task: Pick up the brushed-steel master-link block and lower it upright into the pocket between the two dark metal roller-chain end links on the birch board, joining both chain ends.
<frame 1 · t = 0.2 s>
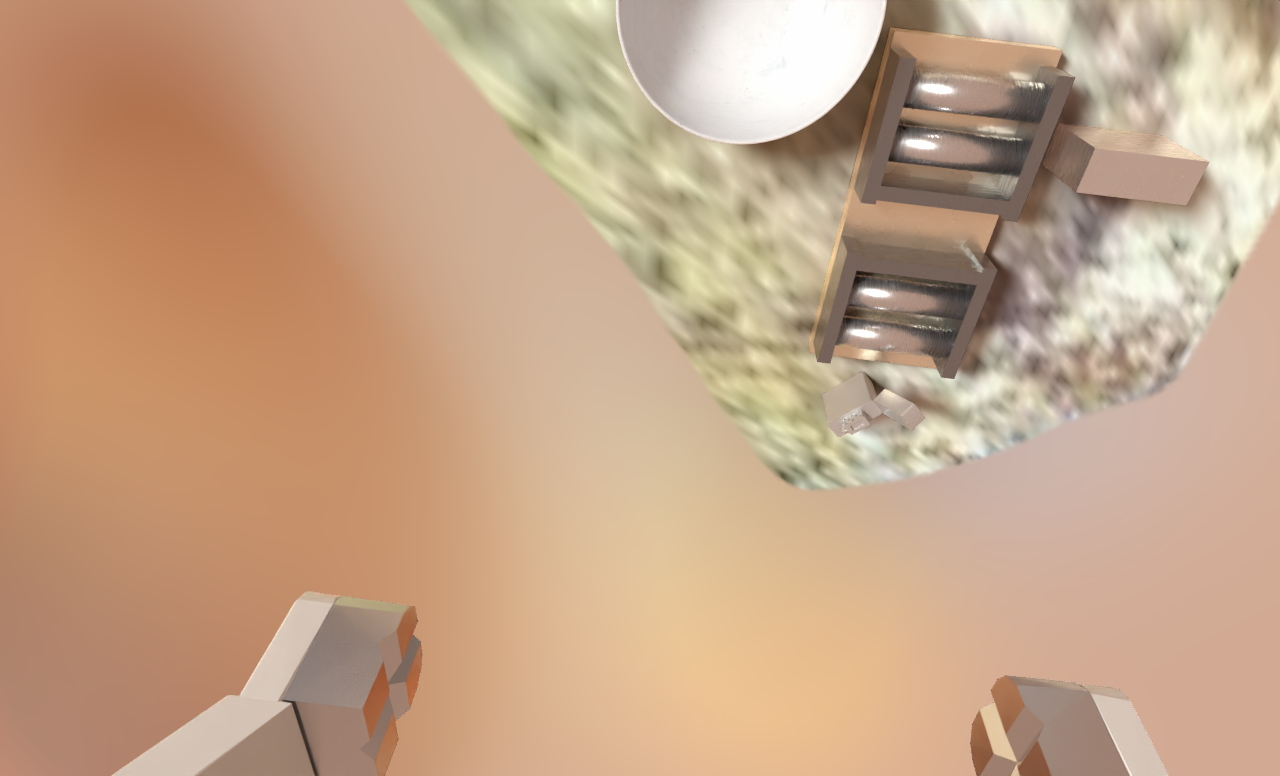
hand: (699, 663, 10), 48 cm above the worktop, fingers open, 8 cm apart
lighter: (861, 379, 63), on the worktop
chain ends: (915, 213, 55), on the worktop
master link: (1100, 149, 51), on the worktop
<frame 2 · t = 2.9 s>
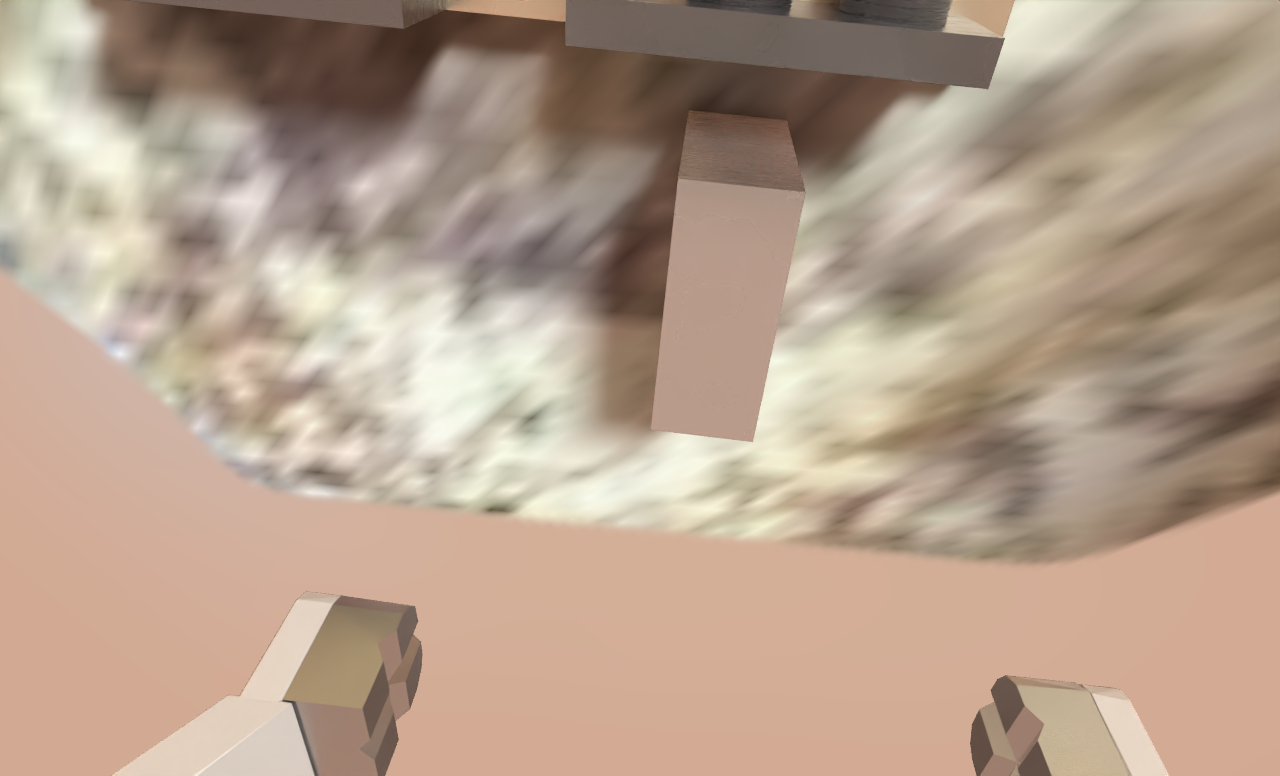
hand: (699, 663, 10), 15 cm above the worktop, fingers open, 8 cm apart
master link: (720, 230, 23), on the worktop
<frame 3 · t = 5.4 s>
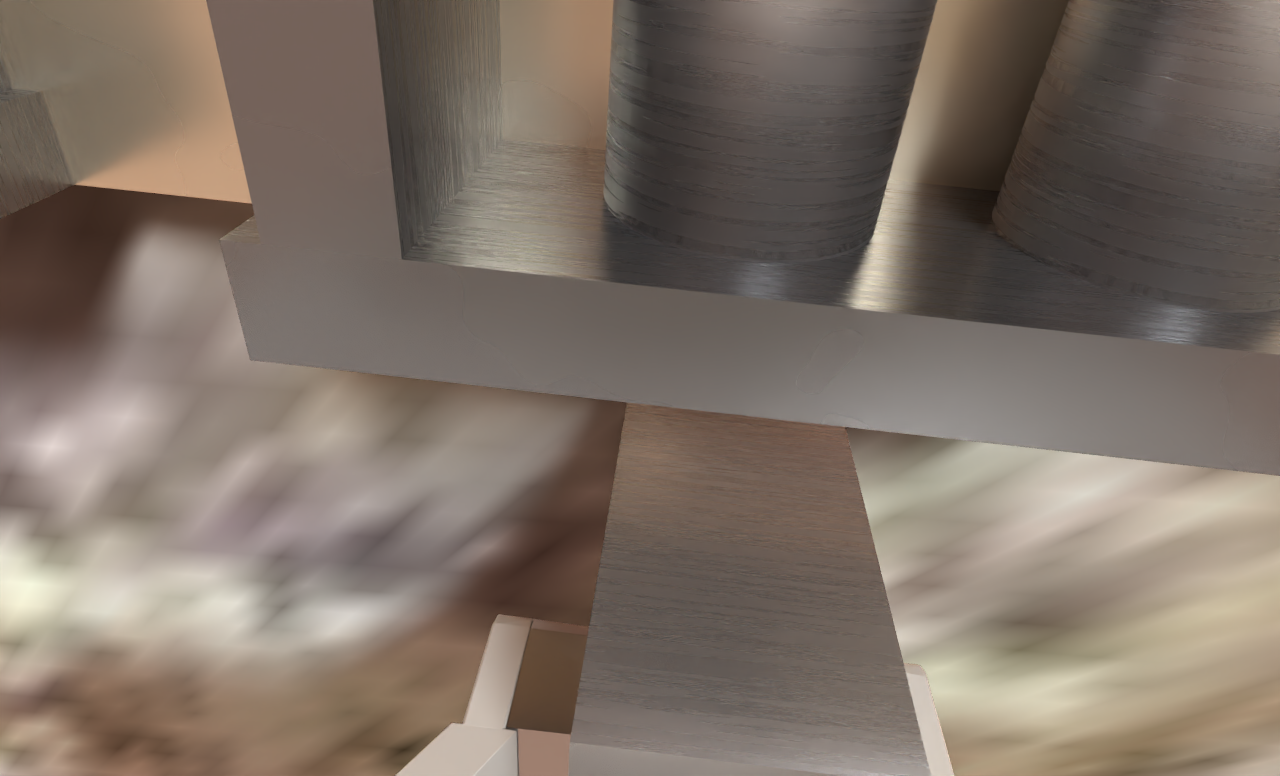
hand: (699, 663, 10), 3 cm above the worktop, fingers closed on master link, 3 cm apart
master link: (702, 530, 13), on the worktop, touching gripper
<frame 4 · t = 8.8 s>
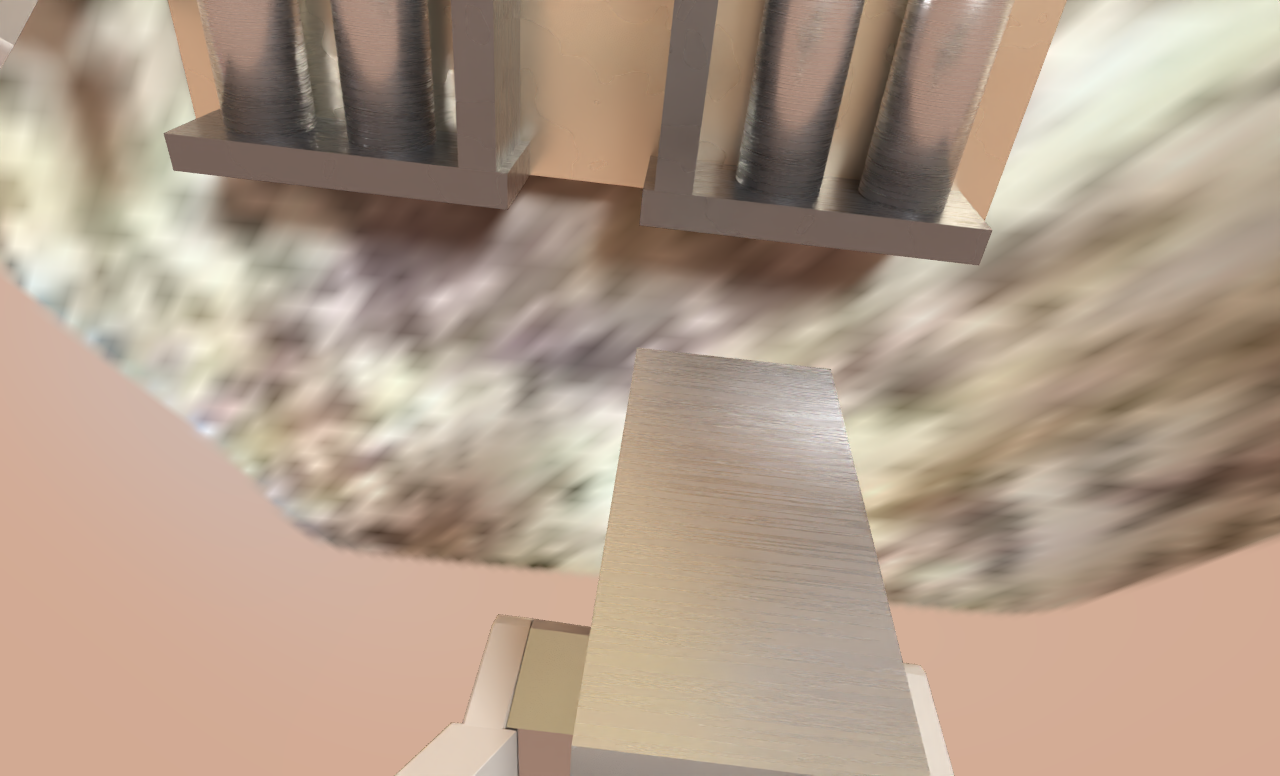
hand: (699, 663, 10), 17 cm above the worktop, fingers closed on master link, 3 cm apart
master link: (703, 531, 13), point 14 cm above the worktop, touching gripper
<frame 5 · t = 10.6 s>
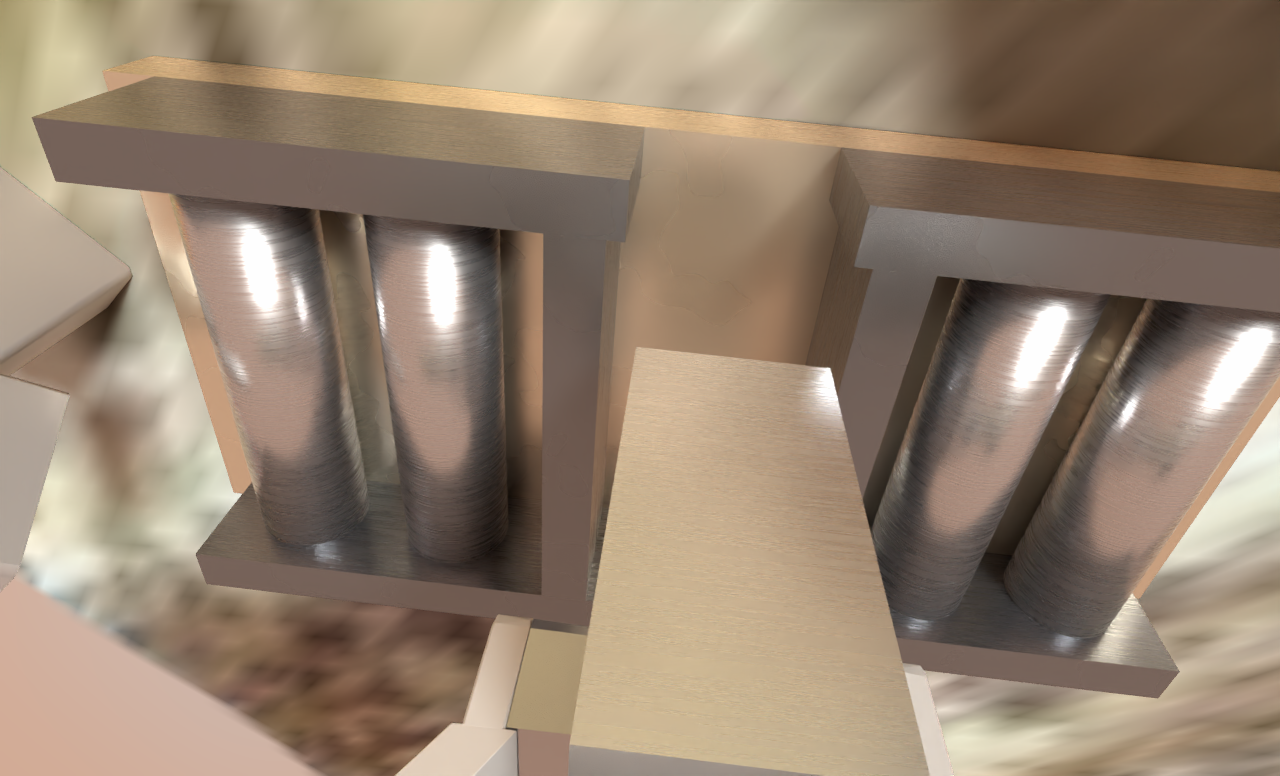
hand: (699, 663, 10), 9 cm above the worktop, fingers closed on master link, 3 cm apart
lighter: (103, 272, 18), on the worktop
chain ends: (706, 343, 18), on the worktop
master link: (702, 531, 13), point 6 cm above the worktop, touching gripper
when the fingers open (5 cm above the worktop, at t = 12.1 s): master link drops 1 cm, resting on chain ends.
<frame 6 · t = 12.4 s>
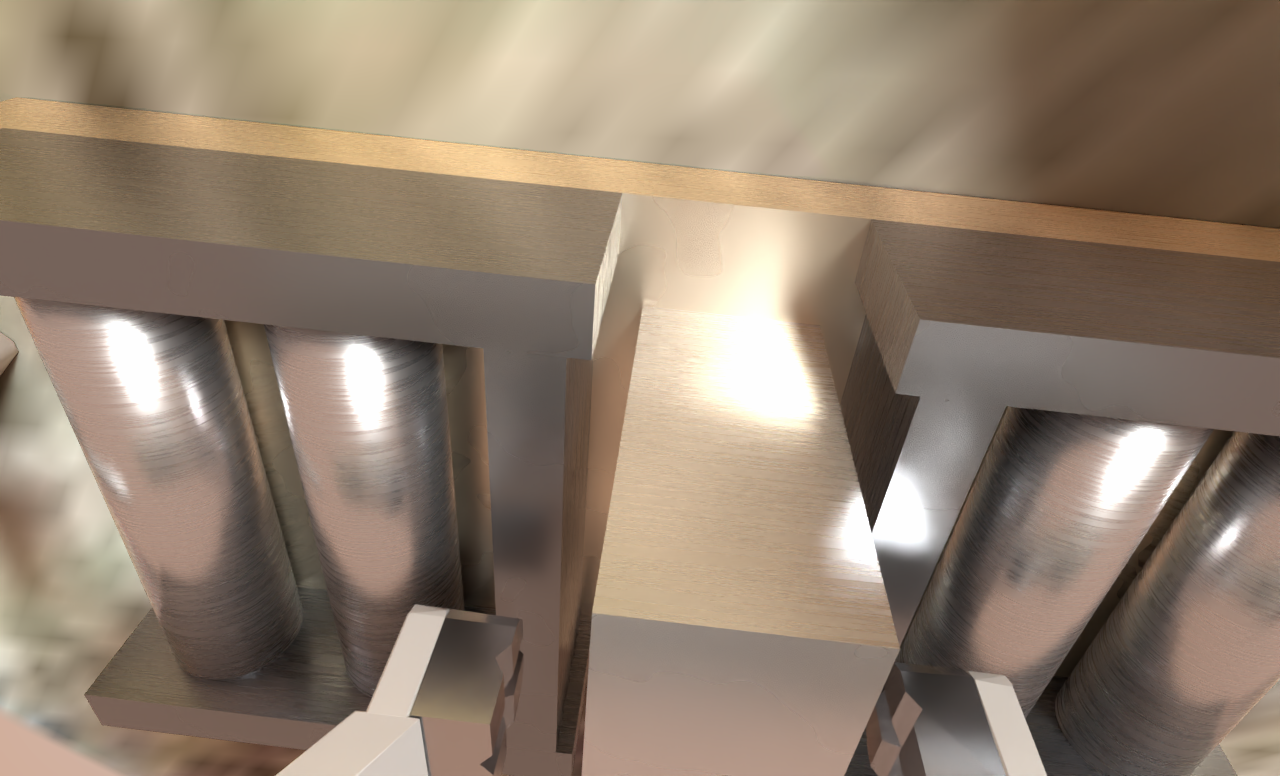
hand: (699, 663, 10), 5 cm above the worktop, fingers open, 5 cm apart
chain ends: (701, 432, 15), on the worktop
master link: (703, 482, 14), point 1 cm above the worktop, touching chain ends
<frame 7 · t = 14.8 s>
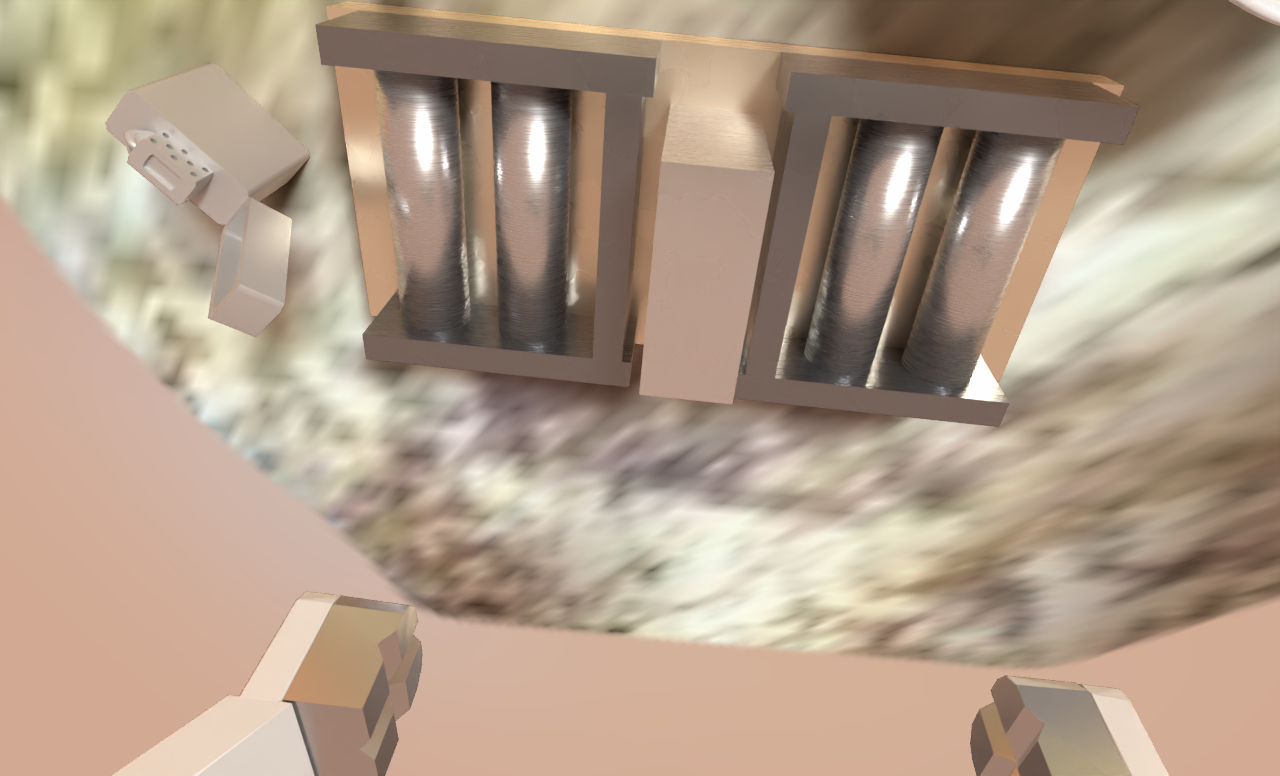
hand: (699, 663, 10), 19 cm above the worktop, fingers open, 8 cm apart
lighter: (288, 155, 27), on the worktop
chain ends: (700, 199, 26), on the worktop
master link: (701, 215, 25), point 1 cm above the worktop, touching chain ends
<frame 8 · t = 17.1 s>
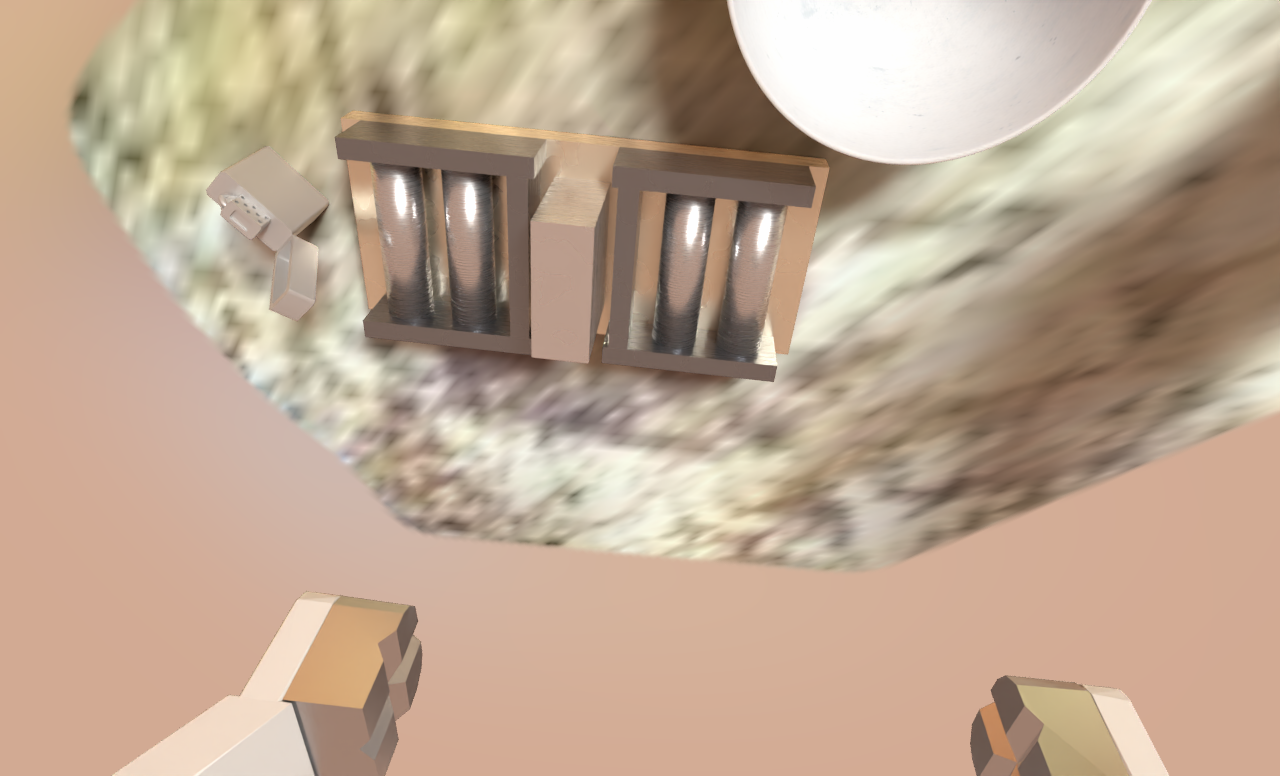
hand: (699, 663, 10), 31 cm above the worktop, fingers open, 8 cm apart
lighter: (314, 203, 41), on the worktop
chain ends: (583, 233, 40), on the worktop
master link: (580, 244, 39), point 1 cm above the worktop, touching chain ends
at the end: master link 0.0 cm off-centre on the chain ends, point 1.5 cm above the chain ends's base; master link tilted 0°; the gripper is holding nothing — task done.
